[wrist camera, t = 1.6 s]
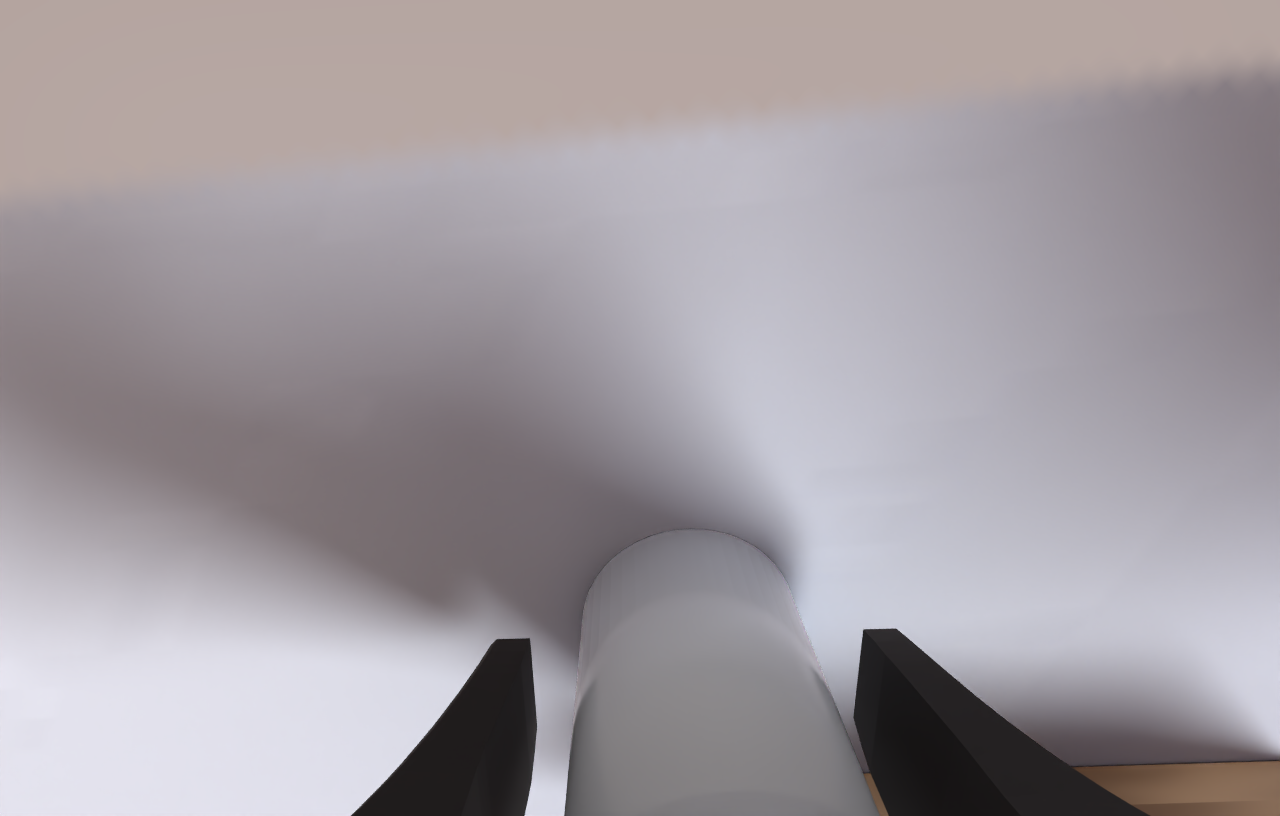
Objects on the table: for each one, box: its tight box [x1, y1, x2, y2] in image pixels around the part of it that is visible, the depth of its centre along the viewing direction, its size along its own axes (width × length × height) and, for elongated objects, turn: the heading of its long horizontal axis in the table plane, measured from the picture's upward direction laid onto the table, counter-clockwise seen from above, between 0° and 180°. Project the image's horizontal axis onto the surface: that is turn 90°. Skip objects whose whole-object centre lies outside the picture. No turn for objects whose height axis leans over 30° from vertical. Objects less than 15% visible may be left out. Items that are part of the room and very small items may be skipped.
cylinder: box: [564, 529, 880, 816], centre depth 11 cm, size 4×4×6 cm
